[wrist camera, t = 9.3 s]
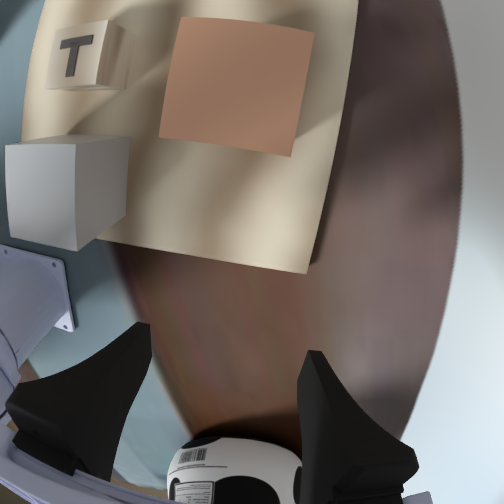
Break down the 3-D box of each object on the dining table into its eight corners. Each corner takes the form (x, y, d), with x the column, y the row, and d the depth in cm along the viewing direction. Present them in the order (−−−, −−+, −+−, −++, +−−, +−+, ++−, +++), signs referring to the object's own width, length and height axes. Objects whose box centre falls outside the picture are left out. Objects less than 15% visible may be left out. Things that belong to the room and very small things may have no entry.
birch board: (30, 221, 22) (24, 224, 21) (52, 2, 14) (45, 0, 13) (304, 268, 22) (306, 274, 21) (355, 2, 14) (358, -3, 13)
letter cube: (78, 91, 16) (43, 89, 13) (87, 40, 15) (55, 29, 11) (125, 89, 17) (94, 84, 13) (135, 35, 15) (107, 19, 11)
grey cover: (65, 206, 20) (10, 236, 14) (66, 134, 18) (5, 145, 12) (125, 215, 20) (77, 251, 14) (130, 136, 18) (75, 144, 12)
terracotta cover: (193, 133, 18) (158, 137, 12) (208, 50, 16) (181, 16, 10) (282, 147, 18) (290, 157, 12) (299, 63, 16) (314, 32, 10)
